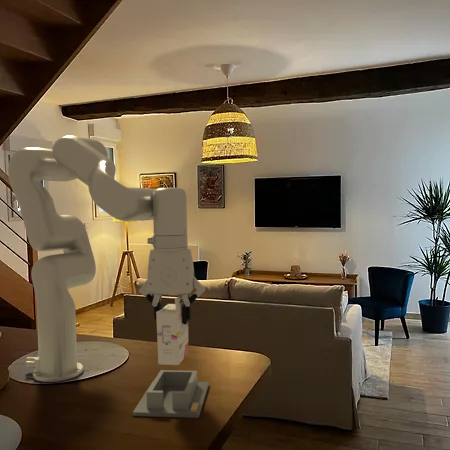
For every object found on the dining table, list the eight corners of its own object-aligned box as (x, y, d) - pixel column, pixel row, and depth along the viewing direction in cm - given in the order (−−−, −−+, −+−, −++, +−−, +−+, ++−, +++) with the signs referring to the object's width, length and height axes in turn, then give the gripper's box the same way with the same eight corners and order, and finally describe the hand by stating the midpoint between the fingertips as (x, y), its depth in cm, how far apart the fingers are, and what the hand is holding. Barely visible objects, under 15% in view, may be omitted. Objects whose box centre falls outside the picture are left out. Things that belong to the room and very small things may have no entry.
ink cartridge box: (169, 352, 107) (167, 290, 107) (189, 353, 106) (188, 291, 106) (156, 364, 99) (155, 298, 98) (178, 366, 98) (176, 298, 97)
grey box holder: (132, 415, 95) (132, 395, 95) (153, 383, 112) (152, 366, 112) (198, 417, 94) (198, 397, 94) (208, 385, 111) (208, 368, 111)
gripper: (128, 244, 99) (130, 327, 99) (206, 244, 97) (208, 327, 98) (138, 242, 106) (140, 318, 107) (210, 241, 105) (212, 318, 105)
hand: (172, 322), depth 102 cm, fingers closed on ink cartridge box, 5 cm apart
